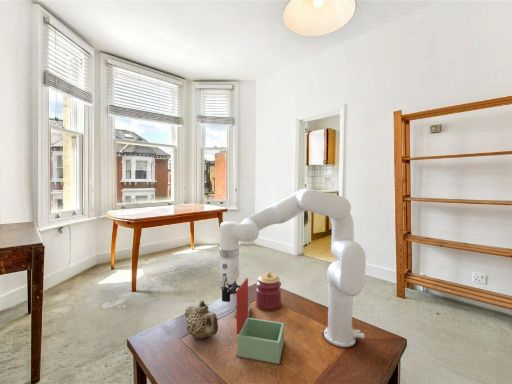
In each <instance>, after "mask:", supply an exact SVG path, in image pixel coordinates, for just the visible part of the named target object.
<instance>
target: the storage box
mask: <svg viewBox="0 0 512 384" xmlns="http://www.w3.org/2000/svg"><path fill="white" fill-rule="evenodd" d="M284 342H285V323H284V322H279V321H273V320H267V319H266V320H265V319H260V318H259V319H258V318H252V317H248V318H247V319H246V321H245V323H244V325H243V327H242V329H241V331H240V333H239V335H238V334H237V357H240V358H245V359H251V360H256V361H262V362H265V363H266V362H267V363H272V364H278V365H280V363H281V356H282V352H283V348H284Z"/></svg>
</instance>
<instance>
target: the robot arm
mask: <svg viewBox="0 0 512 384" xmlns="http://www.w3.org/2000/svg"><path fill="white" fill-rule="evenodd" d="M351 209H352V205H351V203H350V201H349V199H347V198H346V197H344V196H343V195H342V196H341V195H337V194H333V193H329V192H324V191H321V190H317V189H314V188H300V189H298V190H297V191H295V192H293V193H291V194H289V195H288V196H286V197H284V198H282V199H281V200H278V201H277V202H275V203H273V204H271V205H269V206H267V207H265V208H263V209H261V210H259V211H257V212H255V213H254V214H251V215H250V216H248V217H246V218H245V219H243V220H242V221H241V222H240V223H239V222H237V221H233V220H226V221H222V222H221V223H220V225H219V258H220V267H219V268H220V270H219V282H220V286H219V287H220V290H221V301H222V302H223V303H224V302H225V303H230V302H231V294H230V291H229V289H230V288H231V287H232V286H233V285H234V284H235V283H236V284H237V280H238V279H239V278H240V261H239V260H240V259H239V257H240V242H245V243H247V242H248V243H250V242H254V241H256V240H257V239H258V237H259V235H260V231H261V230H263V229H265V228H267V227H269V226H273V225H279V224H284V223H286V222H289V221H290V220H292V219H294V218H295V217H297V216H298V215H301V214H302V213H305V212H310V213H313V214H317V215H320V216H325V217H328V218H329V220H330V223H331V242H330V243H331V244H330V251H331V254H332V256H333V257H334V258H335V259H337V260H336V261H333V262H331V263H330V264H329V266H328V268H327V271H326V278H327V279H326V280H327V287H328V299H327V300H328V301H327V302H328V303H327V305H328V306H327V327H326V328H325V329H324V331H323V336H324V339H325V340H326V341H327V342H328V343H330V344H331V345H333V346H337V347H341V348H348V347H352V346H354V345H355V344H356V341H357V339H365V333H363V332H361V330H360V329H354V328H353V305H354V304H353V302H354V300H353V299H354V297H356V296H359V294H361V293H362V291H363V290H364V287H365V283H366V282H365V281H366V265H367V264H366V263H367V262H366V259H367V257H366V253H365V250H364V248H363V246H362V245H361V244H359V243H358V242H356V241H355V237H354V236H355V228H354V220H353V216H352V213H351ZM235 291H237V289H236V290H235ZM232 295H237V293H233V294H232Z"/></svg>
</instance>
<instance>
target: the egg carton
mask: <svg viewBox="0 0 512 384" xmlns="http://www.w3.org/2000/svg"><path fill="white" fill-rule="evenodd" d="M250 311H251V303H250V302H249V301H248V318H250ZM234 312H235V318H237V300H236V301H235V305H234Z"/></svg>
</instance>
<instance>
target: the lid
mask: <svg viewBox="0 0 512 384" xmlns="http://www.w3.org/2000/svg"><path fill="white" fill-rule="evenodd" d="M235 290H236V291H235ZM229 291H230V295H234V294H233V293H236V301H237V317H236V335H237V336H238V335H239V333H240V331H241V329H242V327H243V325H244V323H245V321H246V319H247V318H249V317H248V302H249V278H248V277H245V279H244V281H243V282H242V283H241V285H238V283H237V282H236V283H235V284H234V285H233V286H232V287H231V288H230V289H229Z"/></svg>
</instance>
